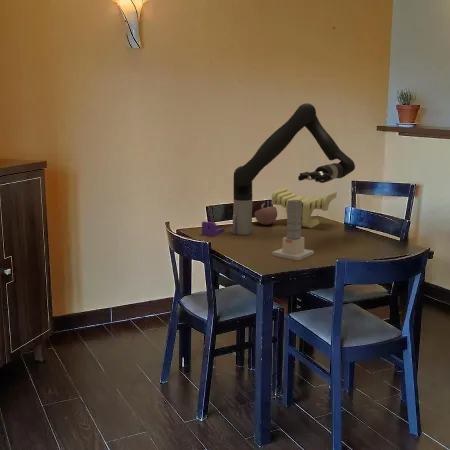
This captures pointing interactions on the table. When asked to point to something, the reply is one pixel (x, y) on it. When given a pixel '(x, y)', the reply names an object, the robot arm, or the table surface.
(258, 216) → the mortar and pestle
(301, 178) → the robot arm
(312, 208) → the slatted curved stool
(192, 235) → the table surface
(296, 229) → the column
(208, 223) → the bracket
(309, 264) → the table surface
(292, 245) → the stand
